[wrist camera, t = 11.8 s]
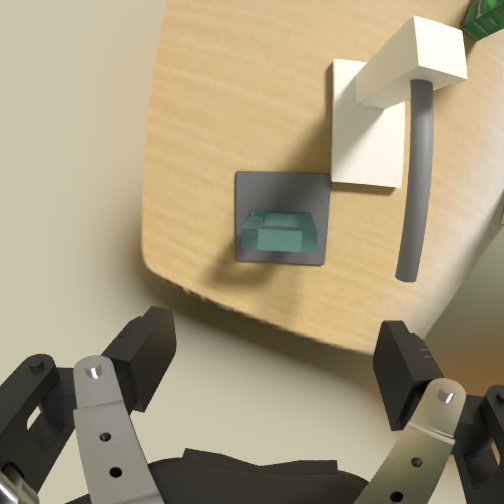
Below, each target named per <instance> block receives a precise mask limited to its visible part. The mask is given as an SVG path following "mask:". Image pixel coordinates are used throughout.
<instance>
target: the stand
mask: <svg viewBox="0 0 504 504" xmlns="http://www.w3.org/2000/svg"><path fill="white" fill-rule="evenodd" d="M332 71H333V111H332V151H331V174H330V175H331V181H333V182H346V183H358V184H369V185H379V186H389V187H398V188H401V184H402V171H403V154H404V121H405V101H407V100H410V99H411V134H410V159H409V174H408V187H407V197H406V207H405V216H404V224H403V231H402V238H401V245H400V251H399V258H398V264H397V269H396V275H395V277H396V278H397V279H398V280H400V281H403V282H415V281H416V278H417V273H418V268H419V263H420V257H421V252H422V246H423V240H424V233H425V227H426V219H427V212H428V203H429V194H430V184H431V171H432V155H433V118H434V115H433V91H435V90H438V89H441V88H444V87H446V86H449V85H452V84H455V83H458V82H462V81H465V80H467V68H466V58H465V49H464V42H463V35H462V31H461V30H458V29H456V28H453V27H450V26H447V25H444V24H441V23H438V22H435V21H432V20H428V19H425V18H421V17H418V16H414V15H413V16H412V17H411V18H410V19H409V20H408V21H407V22H406V23H405V24H404V25H403V26H402V27H401V28H400V29H399V30H398V31H397V32H396V33H395V34H394V35H393V36H392V37H391V38H390V39H389V40H388V41H387V43H386V44H385V45H384V46H383V47H382V48H381V49H380V50H379V51H378V52H377V53H376V54H375V55H374V56H373V57H372V58H371V59H370V60H369V61H368V62H367V63H365V62H358V61H350V60H342V59H334V60H333V62H332Z"/></svg>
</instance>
